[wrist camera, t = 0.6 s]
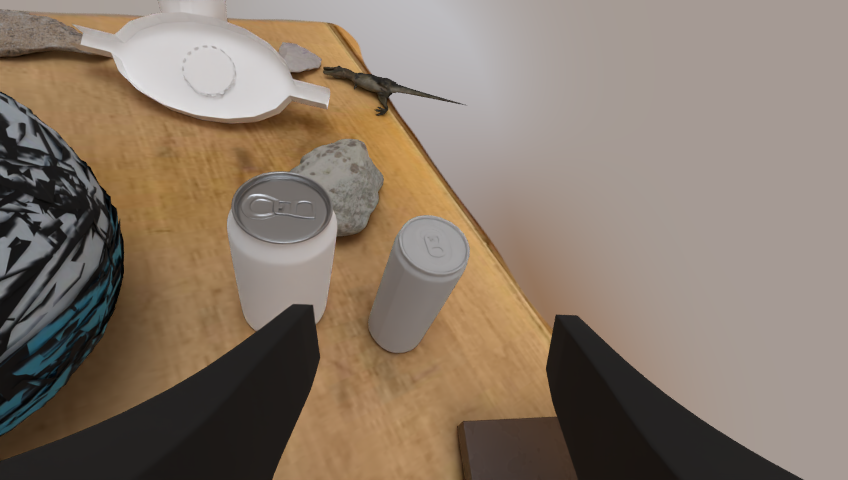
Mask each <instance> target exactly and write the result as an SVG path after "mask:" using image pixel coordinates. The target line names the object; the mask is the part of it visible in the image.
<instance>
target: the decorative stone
mask: <svg viewBox="0 0 848 480" xmlns="http://www.w3.org/2000/svg"><path fill="white" fill-rule="evenodd" d="M290 172H292V173H297V174H301V175H304V176H307V177H309V178H311V179H313V180H315V181H316V182H318V183H319V184H320V185H321V186H322V187H323V188H324V189H325V190H326V191H327V192H328V194H329V196H330V198H331V200H332V204H333V210H334V213H335V215H336V219H337V236H347V235H352V234H356V233H359V232H360V231H361V230H363V229H364V228H365V227H366V225H367V222H368V219H369V216H370V214H371V213H372V212H373V211H374V209H375V207H376V205H377V204H378V201H379V196H378V191H379V189H380V188H381V187H382V185H383V181H384V178H383V175H382V173H381V172H380V171H379V170H378V169H377V168H376V167H375V165H374V164H373V162H372V160H371V159H370V157H369V155H368V152H367V148H366V145H365V144H364V142H362V141H359V140H355V139H342V140H339V141H337V142H335V143H331V144H328V145H323V146H320V147H317V148H315V149H314V150H313V151H311V152H309V153H307V154H306V155H304V156H303V157H302V158H301V161H300V165H299V166H297V167H295V168H293V169H292V170H291V171H290ZM337 236H336V237H337Z"/></svg>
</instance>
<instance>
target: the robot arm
mask: <svg viewBox="0 0 848 480" xmlns="http://www.w3.org/2000/svg"><path fill="white" fill-rule="evenodd" d="M319 360H320V353H319V346H318V338H317V331H316V323H315V316H314V308H313V305H309V304H292V305H291V306H289V307H288V308H287V309H285V310H284V311H283V312H281V313H280V314H279V315H277V316H276V317H275V318H274V319H272V320H271V321H270V322H268V323H267V324H266V325H265V326H263V327H262V328H261V329H259V330H258V331H257V332H255V333H254V334H253V335H251V336H250V337H249V338H247V339H246V340H245V341H243V342H242V343H241V344H239V345H238V346H236V347H235V348H233V349H232V350H230V351H229V352H228V353H226V354H225V355H223V356H222V357H220V358H219V359H217V360H216V361H215V362H213V363H212V364H210V365H209V366H207V367H205V368H204V369H202V370H201V371H199V372H197V373H196V374H194V375H193V376H191V377H189V378H187V379H186V380H184V381H182V382H181V383H179V384H177V385H175V386H174V387H172V388H170V389H168V390H166V391H165V392H163V393H161V394H159V395H157V396H155V397H153V398H151V399H149V400H147V401H145V402H143V403H141V404H139V405H137V406H135V407H133V408H131V409H129V410H127V411H125V412H123V413H121V414H119V415H116V416H114V417H112V418H110V419H108V420H105V421H103V422H101V423H99V424H96V425H94V426H91V427H89V428H87V429H84V430H82V431H80V432H77V433H75V434H72V435H70V436H67V437H65V438H62V439H60V440H57V441H55V442H52V443H49V444H46V445H44V446H41V447H38V448H36V449H33V450H30V451H28V452H25V453H22V454H19V455H17V456H14V457H11V458H8V459H5V460H3V461H0V480H272V479H273V476H274V473H275V471H276V468H277V465H278V463H279V460H280V458H281V456H282V454H283V451H284V449H285V447H286V445H287V442H288V440H289V438H290V436H291V433H292V431H293V429H294V427H295V424H296V422H297V420H298V418H299V415H300V413H301V411H302V408H303V406H304V404H305V402H306V399H307V397H308V395H309V392H310V390H311V387H312V384H313V381H314V377H315V374H316V371H317V367H318V364H319ZM546 371H547V377H548V382H549V388H550V393H551V397H552V402H553V405H554V408H555V411H556V414H557V418H558V421H559V424H560V427H561V430H562V433H563V436H564V439H565V442H566V445H567V448H568V451H569V454H570V457H571V460H572V463H573V466H574V469H575V472H576V475H577V478H578V480H803V479H801V478H799V477H798V476H796V475H794V474H792V473H790V472H788V471H786V470H784V469H783V468H781V467H779V466H777V465H775V464H774V463H772V462H770V461H768V460H766V459H765V458H763V457H761V456H759V455H758V454H756V453H754V452H753V451H751V450H749V449H747V448H746V447H744V446H742V445H741V444H739V443H738V442H736V441H734V440H732V439H731V438H729V437H728V436H726V435H725V434H723V433H721V432H720V431H718V430H716V429H715V428H714V427H712V426H710V425H709V424H707V423H706V422H704V421H703V420H701V419H700V418H698V417H697V416H696V415H694V414H693V413H691V412H690V411H688V410H687V409H686V408H684V407H683V406H682V405H680V404H679V403H677V402H676V401H675V400H673V399H672V398H671V397H669V396H668V395H667V394H665V393H664V392H663V391H661V390H660V389H659V388H658V387H656V386H655V385H654V384H653V383H651V382H650V381H649V380H648V379H647V378H645V377H644V376H643V375H642V374H640V373H639V372H638V371H637V370H636V369H635V368H633V367H632V366H631V365H630V364H629V363H628V362H627V361H625V360H624V359H623V358H622V357H621V356H620V355H619V354H618V353H616V352H615V351H614V350H613V349H612V348H611V347H610V346H609V345H608V344H607V343H606V342H605V341H604V340H603V339H602V338H601V337H599V336H598V335H597V334H596V333H595V332H594V331H593V330H592V329H591V328H590V327H589V326H588V325H587V324H586V323H585V322H584V321H583V320H581V319H580V318H579V317H578V316H576V315H575V316H574V315H556V316H555V322H554V327H553V333H552V338H551V344H550V349H549V355H548V360H547V366H546Z"/></svg>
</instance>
